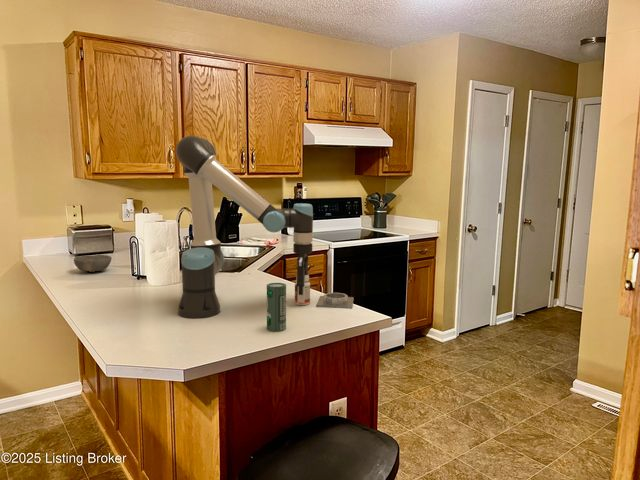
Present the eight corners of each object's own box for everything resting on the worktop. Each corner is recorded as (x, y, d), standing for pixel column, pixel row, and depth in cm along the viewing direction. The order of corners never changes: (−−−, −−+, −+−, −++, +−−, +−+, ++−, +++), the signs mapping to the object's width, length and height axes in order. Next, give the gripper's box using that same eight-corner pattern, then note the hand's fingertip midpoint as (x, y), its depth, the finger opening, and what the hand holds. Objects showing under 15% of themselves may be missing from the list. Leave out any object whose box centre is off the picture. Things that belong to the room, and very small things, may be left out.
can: (272, 324, 161) (272, 282, 159) (288, 327, 159) (288, 283, 157) (264, 330, 155) (263, 285, 153) (280, 332, 153) (280, 287, 151)
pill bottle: (294, 301, 191) (294, 274, 189) (309, 301, 191) (309, 274, 190) (295, 305, 185) (295, 277, 183) (310, 305, 185) (310, 277, 184)
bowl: (111, 274, 238) (110, 258, 237) (72, 276, 232) (71, 260, 231) (112, 267, 255) (112, 253, 254) (76, 269, 248) (75, 254, 247)
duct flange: (352, 308, 182) (352, 300, 182) (316, 306, 183) (316, 299, 183) (353, 299, 196) (353, 292, 195) (320, 297, 197) (320, 290, 197)
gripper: (309, 246, 175) (308, 307, 178) (315, 240, 194) (314, 294, 197) (289, 246, 176) (288, 306, 179) (297, 239, 195) (296, 293, 198)
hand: (302, 299), depth 188 cm, fingers closed on pill bottle, 6 cm apart
